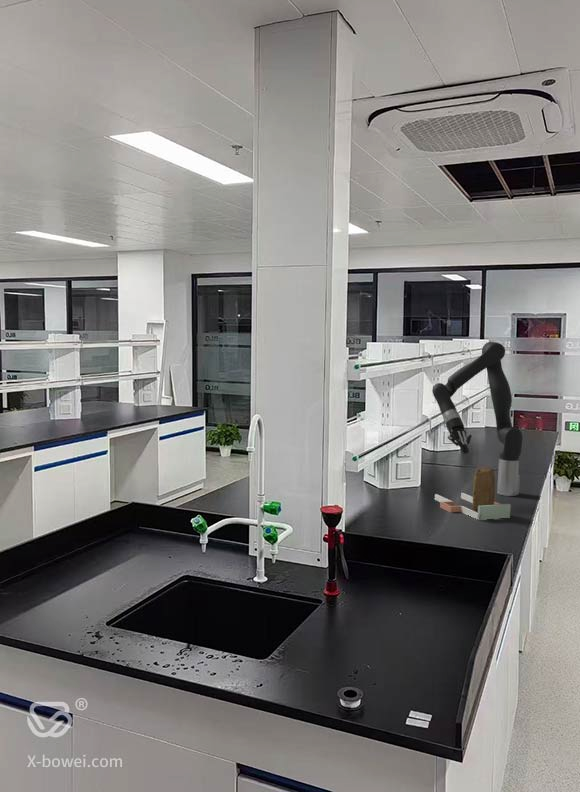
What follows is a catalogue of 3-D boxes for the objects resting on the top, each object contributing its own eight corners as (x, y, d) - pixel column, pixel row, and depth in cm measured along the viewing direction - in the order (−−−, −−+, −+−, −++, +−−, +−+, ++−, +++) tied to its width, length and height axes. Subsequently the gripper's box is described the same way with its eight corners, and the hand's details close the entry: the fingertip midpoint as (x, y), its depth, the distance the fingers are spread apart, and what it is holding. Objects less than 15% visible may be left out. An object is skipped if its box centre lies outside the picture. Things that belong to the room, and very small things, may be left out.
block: (487, 517, 283) (490, 470, 282) (470, 514, 288) (472, 468, 286) (495, 512, 292) (498, 467, 291) (479, 509, 297) (481, 464, 295)
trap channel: (472, 497, 319) (472, 485, 318) (519, 517, 284) (520, 503, 283) (425, 500, 311) (425, 487, 311) (468, 521, 277) (469, 506, 276)
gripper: (446, 416, 307) (459, 448, 298) (468, 417, 313) (482, 448, 304) (437, 425, 313) (450, 457, 303) (459, 426, 319) (473, 457, 309)
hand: (466, 452), depth 304 cm, fingers closed
